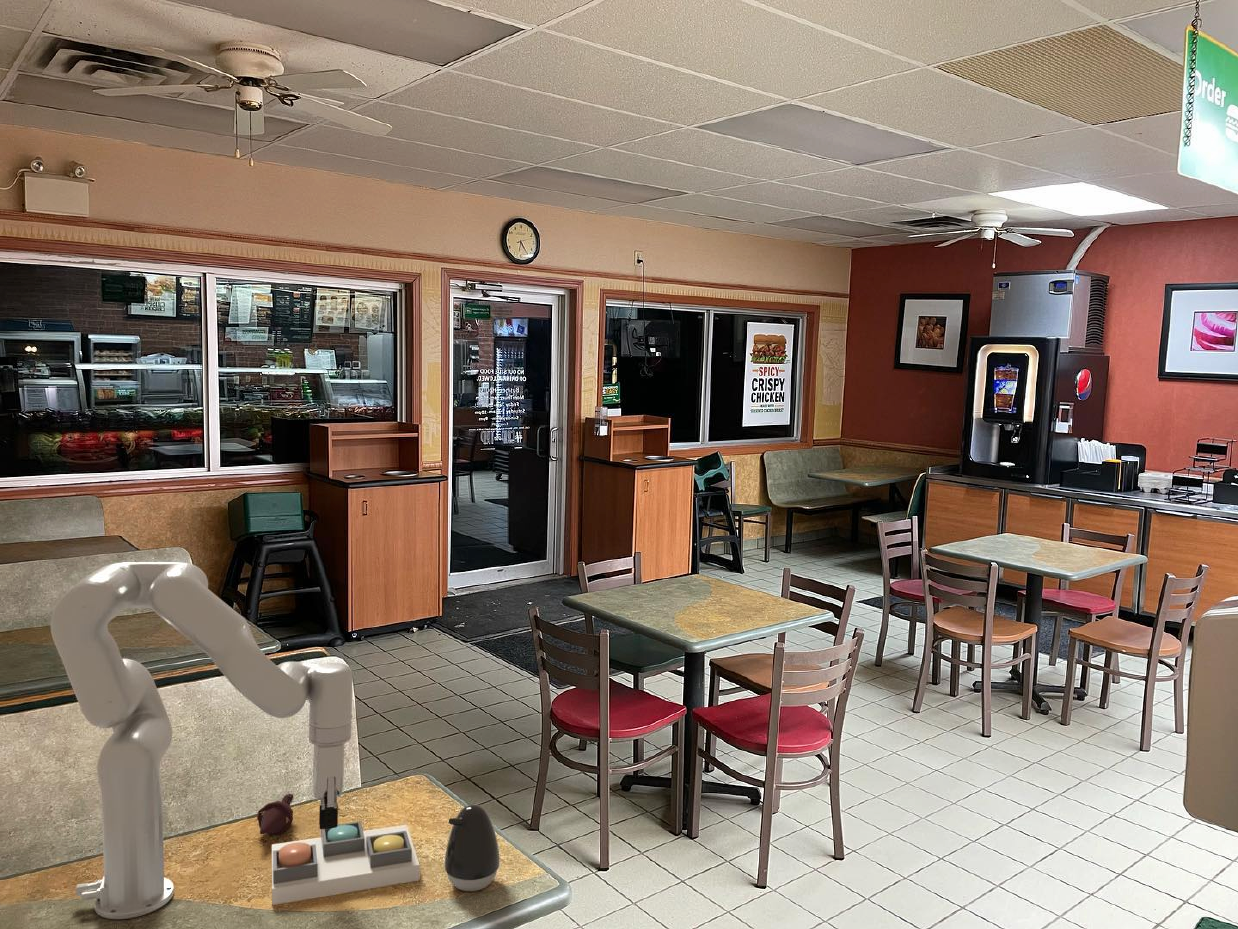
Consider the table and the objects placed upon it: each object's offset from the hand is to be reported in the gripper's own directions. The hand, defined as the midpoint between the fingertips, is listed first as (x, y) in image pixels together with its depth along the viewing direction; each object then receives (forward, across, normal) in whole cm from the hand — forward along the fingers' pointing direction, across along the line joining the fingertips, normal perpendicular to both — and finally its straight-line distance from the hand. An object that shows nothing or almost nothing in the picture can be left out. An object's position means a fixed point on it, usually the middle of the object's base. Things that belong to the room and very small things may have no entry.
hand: (328, 826), depth 172 cm
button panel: (+10, -3, +3) cm, 11 cm away
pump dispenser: (+10, +10, +25) cm, 29 cm away
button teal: (+7, -7, +3) cm, 10 cm away
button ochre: (+7, 0, +11) cm, 13 cm away
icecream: (+11, -22, -9) cm, 26 cm away
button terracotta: (+6, 0, -6) cm, 8 cm away
